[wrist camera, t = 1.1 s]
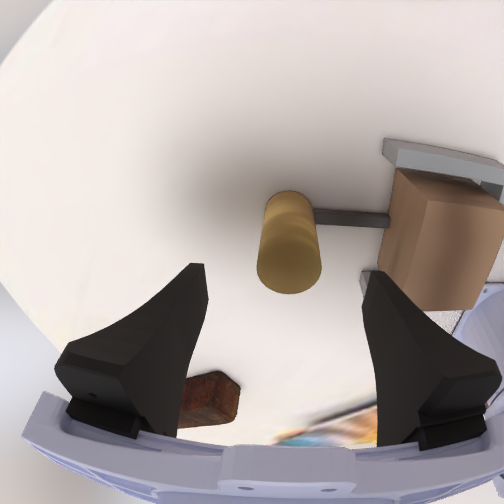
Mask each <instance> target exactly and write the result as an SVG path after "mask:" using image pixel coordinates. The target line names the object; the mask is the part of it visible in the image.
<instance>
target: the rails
mask: <svg viewBox="0 0 504 504" xmlns="http://www.w3.org/2000/svg"><path fill="white" fill-rule="evenodd" d="M383 155H384V156H385V157H386V158H387V159H388V160H389V161H390V162H391V163H393V164H394V165H395V166H396V167H403V168H410V169H417V170H424V171H431V172H437V173H443V174H449V175H455V176H460V177H465V178H471V179H476V180H481V181H482V183H481V187H482V188H483V189H484V190H485V191H487V192H488V193H489V194H490V195H492V196H493V197H494V198H495V199H497V200H498V201H499V202H500V203H501V204H503V205H504V165H503V164H501V163H499V162H498V161H496V160H492V159H488V158H484V157H480V156H476V155H472V154H468V153H463V152H459V151H454V150H450V149H445V148H440V147H435V146H429V145H424V144H418V143H412V142H406V141H399V140H393V139H385V138H384V146H383ZM370 273H371V272H368V271H362V274H361V278H360V286H361V290H362V293H363V297H364V296H365V293H366V289H367V285H368V281H369V277H370Z"/></svg>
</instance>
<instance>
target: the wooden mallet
mask: <svg viewBox="0 0 504 504" xmlns="http://www.w3.org/2000/svg"><path fill="white" fill-rule="evenodd" d="M315 224H320V225H339V226H357V227H373V228H385V231H384V236H383V240H382V245H381V249H380V253H379V257H378V261H377V264H378V267H379V269H380V271H384V272H385V273H386V274H387V275H388V276H389V277H390V278H391V279H392V280H393V281H394V282H395V283H396V284H397V285H398V287H399V288H400V289H401V290H402V291H403V292H404V293H405V294H406V295H407V296H408V297H409V298H410V299H411V300H412V302H413V303H414V304H415V305H416V306H417V307H418V308H419V309H420V310H422V311H452V310H472V309H473V307H474V305H475V303H476V301H477V299H478V297H479V295H480V293H481V291H482V289H483V287H484V285H485V282H486V280H487V278H488V276H489V273H490V271H491V269H492V266H493V264H494V261H495V259H496V256H497V254H498V251H499V249H500V246H501V243H502V240H503V238H504V205H503V204H501V203H500V202H499V201H498V200H497V199H495V198H494V197H493V196H492V195H490V194H489V193H488V192H487V191H485V190H484V189H483V188H482V187H480V186H479V185H478V184H476V183H475V182H474V181H472V180H471V179H465V178H460V177H454V176H449V175H443V174H436V173H430V172H423V171H416V170H409V169H401V168H396V170H395V177H394V183H393V189H392V195H391V200H390V206H389V211H388V214H383V213H369V212H355V211H339V210H322V209H312V206H311V203H310V202H309V200H308V199H307V198H306V197H305V196H304V195H302V194H300V193H298V192H295V191H283V192H279V193H277V194H275V195H274V196H273V197H272V198H271V199H270V200H269V201H268V203H267V205H266V208H265V214H264V221H263V227H262V234H261V241H260V247H259V254H258V260H257V274H258V276H259V278H260V280H261V282H262V283H263V284H264V285H265V286H266V287H268V288H269V289H271V290H273V291H275V292H278V293H282V294H296V293H300V292H303V291H305V290H307V289H309V288H310V287H312V286H313V285H314V284H315V283H316V282H317V280H318V279H319V277H320V274H321V269H322V266H321V259H320V252H319V246H318V239H317V233H316V227H315Z"/></svg>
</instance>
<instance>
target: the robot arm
mask: <svg viewBox="0 0 504 504" xmlns="http://www.w3.org/2000/svg"><path fill="white" fill-rule="evenodd" d="M208 300H209V299H208V292H207V284H206V277H205V269H204V264H202V263H190V264H189V265H188V266H186V267H185V268H184V269H183V270H182V271H181V272H180V273H179V274H178V275H177V276H176V277H175V278H174V279H173V280H172V281H171V282H170V283H168V284H167V285H166V286H165V287H164V288H163V289H162V290H161V291H160V292H158V293H157V294H156V295H155V296H154V297H152V298H151V299H150V300H149V301H148V302H146V303H145V304H144V305H142V306H141V307H140V308H138V309H137V310H135V311H134V312H132V313H131V314H129V315H128V316H126V317H124V318H122V319H121V320H119V321H117V322H115V323H114V324H112V325H110V326H108V327H106V328H104V329H102V330H100V331H98V332H95V333H93V334H91V335H88V336H86V337H83V338H80V339H77V340H74V341H72V342H69V343H68V344H67V346H66V348H65V349H64V351H63V353H62V354H61V356H60V358H59V359H58V361H57V363H56V365H55V368H54V370H55V373H56V375H57V377H58V379H59V380H60V381H61V383H62V384H63V386H64V387H65V388H66V389H67V391H68V392H69V393H70V394H71V395H72V399H71V401H70V403H69V402H68V401H66V400H65V399H63V398H61V397H58V396H56V395H53V394H51V393H48V392H46V391H44V392H43V393H42V395H41V397H40V399H39V401H38V403H37V405H36V406H35V409H34V411H33V413H32V414H31V416H30V419H29V421H28V423H27V425H26V427H25V429H24V431H23V433H22V435H21V437H22V439H23V440H25V441H26V442H27V443H28V444H30V445H31V446H32V447H33V448H35V449H36V450H37V451H39V452H40V453H42V454H43V455H44V456H46V457H47V458H48V459H50V460H51V461H53V462H54V463H56V464H59V465H60V466H63V467H65V468H67V469H69V470H71V471H73V472H75V473H77V474H80V475H82V476H84V477H86V478H88V479H91V480H93V481H95V482H98V483H100V484H102V485H105V486H107V487H110V488H112V489H115V490H118V491H120V492H123V493H126V494H128V495H131V496H134V497H137V498H140V499H143V500H147V501H149V502H153V503H156V504H428V503H431V502H434V501H437V500H440V499H444V498H446V497H449V496H452V495H455V494H458V493H461V492H464V491H466V490H469V489H471V488H474V487H477V486H479V485H482V484H484V483H487V482H489V481H490V480H493V482H494V485H495V487H496V490H497V492H498V495H499V497H501V498H504V284H485V285H484V287H483V289H482V291H481V293H480V295H479V297H478V299H477V301H476V303H475V305H474V307H473V309H472V310H465V312H464V314H463V316H462V318H461V320H460V321H459V323H458V325H457V327H456V329H455V331H454V333H453V334H452V335H450V334H449V333H447V332H446V331H445V330H443V329H442V328H441V327H440V326H438V325H437V324H436V323H435V322H434V321H432V320H431V319H430V318H429V317H428V316H427V315H426V314H425V313H424V312H423V311H422V310H420V309H419V308H418V307H417V306H416V305H415V304H414V303H413V302H412V300H411V299H410V298H409V297H408V296H407V295H406V294H405V293H404V292H403V291H402V290H401V289H400V288H399V287H398V285H397V284H396V283H395V282H394V281H393V280H392V279H391V278H390V277H389V276H388V275H387V274H386V273H385V272H384V271H371V273H370V277H369V281H368V285H367V289H366V293H365V296H364V300H363V304H362V313H363V322H364V328H365V332H366V336H367V341H368V345H369V349H370V353H371V358H372V362H373V366H374V372H375V380H376V391H377V415H378V425H377V447H375V448H365V449H352V450H350V449H348V448H345V447H332V446H325V447H291V446H267V445H234V446H221V445H214V444H207V443H200V442H194V441H188V440H183V439H177V438H176V436H177V428H178V420H179V414H180V407H181V401H182V396H183V390H184V385H185V380H186V376H187V371H188V367H189V363H190V360H191V357H192V354H193V351H194V348H195V345H196V342H197V340H198V337H199V334H200V331H201V328H202V325H203V322H204V319H205V315H206V310H207V305H208ZM486 402H488V405H489V408H488V409H487V410H486V408H485V405H484V404H485V403H486ZM483 414H484V416H485V420H484V417H483Z"/></svg>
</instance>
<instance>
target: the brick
mask: <svg viewBox="0 0 504 504" xmlns="http://www.w3.org/2000/svg"><path fill="white" fill-rule="evenodd" d="M240 390H241V388H240V387H239V386H238V385H237V384H236V383H234V382H233V381H232V380H231V379H229V378H228V377H227V376H226V375H225V374H223V373H222V372H218V371H217V372H213V373H209V374H206V375H202V376H195V377H192V378H188V379H186V380H185V385H184V390H183V396H182V401H181V407H180V414H179V420H178V428H177V429H180V428H190V427H199V426H212V425H220V424H227V423H230V422H232V421H234V419H235V417H236V415H237V410H238V404H239V396H240Z"/></svg>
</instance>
